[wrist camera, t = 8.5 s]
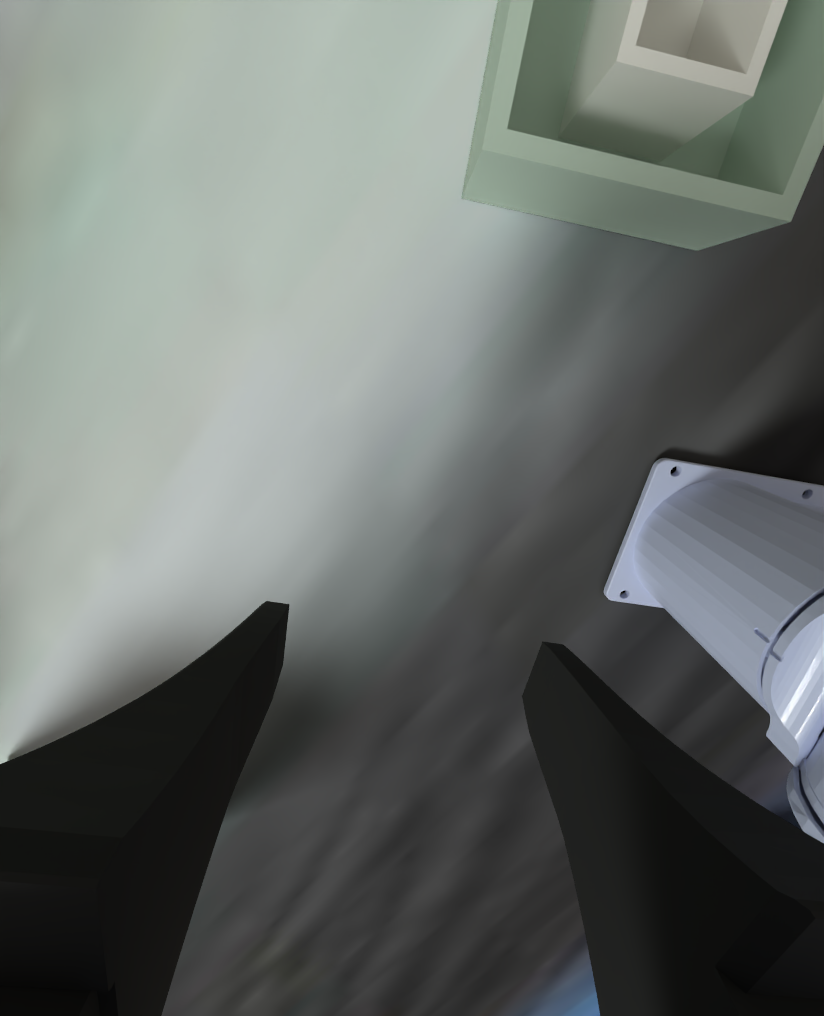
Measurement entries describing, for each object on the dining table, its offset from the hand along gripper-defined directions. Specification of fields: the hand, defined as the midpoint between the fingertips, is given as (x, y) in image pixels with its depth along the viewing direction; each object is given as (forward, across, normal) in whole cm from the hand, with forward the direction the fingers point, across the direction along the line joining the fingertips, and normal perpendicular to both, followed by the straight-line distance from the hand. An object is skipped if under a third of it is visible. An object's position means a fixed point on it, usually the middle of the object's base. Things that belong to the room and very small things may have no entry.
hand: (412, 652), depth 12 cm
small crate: (+10, -4, -19) cm, 22 cm away
